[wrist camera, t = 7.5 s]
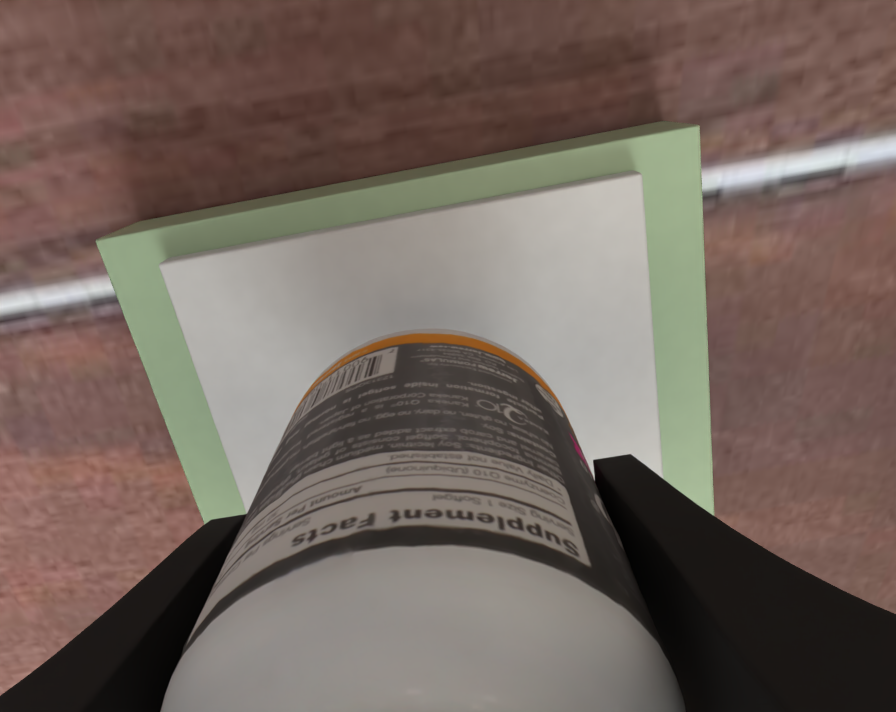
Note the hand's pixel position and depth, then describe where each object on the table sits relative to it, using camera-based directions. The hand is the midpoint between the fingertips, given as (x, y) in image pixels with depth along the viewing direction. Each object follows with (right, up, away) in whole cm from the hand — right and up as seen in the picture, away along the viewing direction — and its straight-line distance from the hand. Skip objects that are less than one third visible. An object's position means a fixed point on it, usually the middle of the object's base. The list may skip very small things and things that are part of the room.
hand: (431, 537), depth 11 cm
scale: (0, +2, +8) cm, 9 cm away
